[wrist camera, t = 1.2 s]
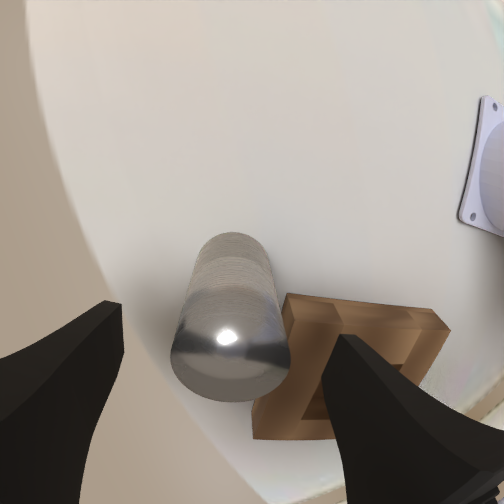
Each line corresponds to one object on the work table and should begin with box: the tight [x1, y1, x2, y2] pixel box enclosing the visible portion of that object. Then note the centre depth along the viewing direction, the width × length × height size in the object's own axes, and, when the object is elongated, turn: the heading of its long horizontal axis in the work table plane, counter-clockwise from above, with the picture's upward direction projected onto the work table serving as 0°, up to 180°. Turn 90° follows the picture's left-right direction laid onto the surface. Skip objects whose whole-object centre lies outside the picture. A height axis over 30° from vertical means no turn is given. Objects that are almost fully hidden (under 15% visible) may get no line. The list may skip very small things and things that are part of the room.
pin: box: [170, 232, 291, 402], centre depth 12 cm, size 4×4×7 cm
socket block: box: [251, 293, 451, 440], centre depth 17 cm, size 10×10×2 cm
